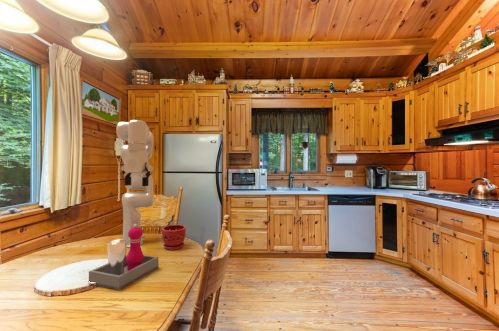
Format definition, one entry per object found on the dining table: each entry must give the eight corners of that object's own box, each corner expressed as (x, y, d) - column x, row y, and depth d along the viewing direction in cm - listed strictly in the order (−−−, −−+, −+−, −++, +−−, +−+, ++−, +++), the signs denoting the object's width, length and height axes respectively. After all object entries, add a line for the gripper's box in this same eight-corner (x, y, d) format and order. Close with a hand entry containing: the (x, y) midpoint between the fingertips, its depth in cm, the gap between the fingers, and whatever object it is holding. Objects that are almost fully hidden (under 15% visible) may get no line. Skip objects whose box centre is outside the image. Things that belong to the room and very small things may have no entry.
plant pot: (158, 247, 143) (158, 226, 143) (179, 242, 152) (179, 223, 152) (167, 253, 133) (168, 231, 133) (189, 248, 142) (189, 227, 142)
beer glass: (129, 274, 104) (130, 239, 104) (119, 282, 97) (119, 244, 97) (114, 273, 104) (114, 238, 105) (102, 281, 97) (103, 243, 98)
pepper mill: (136, 272, 106) (137, 226, 106) (122, 270, 107) (122, 225, 107) (146, 265, 113) (147, 222, 113) (133, 264, 114) (133, 221, 115)
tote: (131, 263, 118) (132, 253, 118) (158, 267, 113) (158, 257, 114) (88, 284, 97) (88, 271, 97) (118, 290, 92) (119, 277, 92)
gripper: (115, 147, 110) (114, 185, 110) (147, 147, 104) (146, 187, 104) (128, 148, 117) (127, 184, 117) (158, 148, 111) (158, 185, 111)
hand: (136, 185), depth 110 cm, fingers open, 9 cm apart
